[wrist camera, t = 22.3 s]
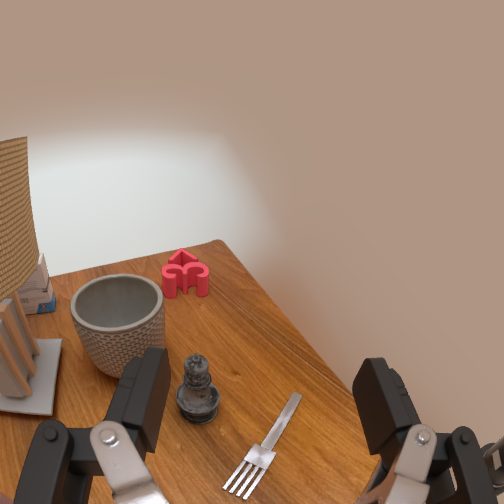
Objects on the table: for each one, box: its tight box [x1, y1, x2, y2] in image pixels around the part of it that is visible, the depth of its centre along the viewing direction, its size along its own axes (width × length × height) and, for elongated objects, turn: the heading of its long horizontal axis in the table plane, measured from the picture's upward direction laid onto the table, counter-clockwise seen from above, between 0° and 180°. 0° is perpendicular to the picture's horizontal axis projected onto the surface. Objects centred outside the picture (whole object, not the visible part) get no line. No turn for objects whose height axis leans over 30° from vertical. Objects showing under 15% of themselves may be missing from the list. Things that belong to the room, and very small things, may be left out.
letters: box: [162, 248, 209, 298], centre depth 64 cm, size 14×10×5 cm
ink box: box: [17, 253, 56, 315], centre depth 44 cm, size 9×5×12 cm, turn 117°
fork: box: [222, 392, 303, 501], centre depth 31 cm, size 19×3×1 cm, turn 151°
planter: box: [70, 274, 165, 378], centre depth 38 cm, size 14×14×13 cm
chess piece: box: [176, 353, 220, 425], centre depth 32 cm, size 6×6×12 cm
